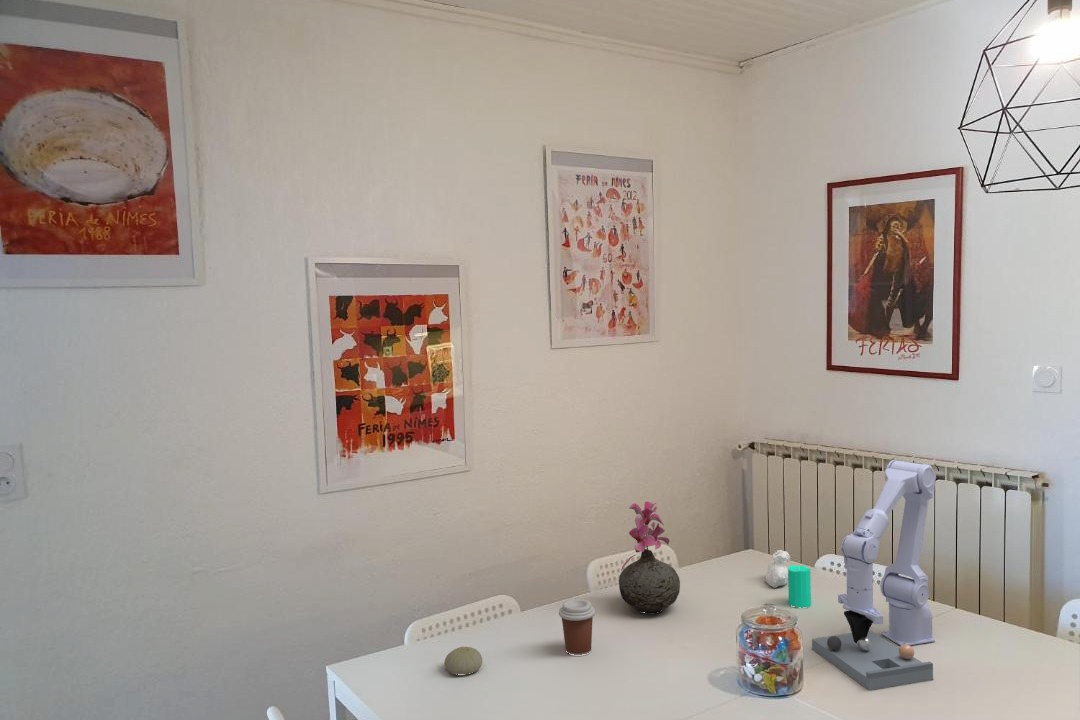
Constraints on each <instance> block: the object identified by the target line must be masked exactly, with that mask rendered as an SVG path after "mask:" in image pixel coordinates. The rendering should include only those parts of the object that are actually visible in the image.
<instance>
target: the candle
mask: <svg viewBox="0 0 1080 720" xmlns="http://www.w3.org/2000/svg"><path fill="white" fill-rule="evenodd" d="M787 568H788V581H787V584H788V589H787V590H788V605H789V604H790V605H792V606H795V607H801V608H803V607H810V606H812V586H811V585H812V581H811V580H812V579H811V568H809V567H807V566H805V565H795V564H794V565H793V564H791V565H790V566H788V567H787ZM790 605H789V606H790ZM810 608H811V607H810Z"/></svg>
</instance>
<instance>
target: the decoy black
mask: <svg viewBox="0 0 1080 720" xmlns="http://www.w3.org/2000/svg"><path fill="white" fill-rule="evenodd" d="M830 636H831V637H829V638H828V640H827V645H828V647H829V648H830V649H831V650H839V649H840V648H841V645H842V644H841V640H840V639H839V638H838V637H836V636H835V635H830Z"/></svg>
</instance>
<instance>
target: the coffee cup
mask: <svg viewBox="0 0 1080 720" xmlns="http://www.w3.org/2000/svg"><path fill="white" fill-rule="evenodd" d="M558 615H559V617H560V618H561V623H562V631H563V640H564V646H565V652H566V651H567V652H568V653H570V654H574V655H582V654H587V653H589V652H590V651H591V652H592V638H593V637H592V636H593V617H594V616H595V615H596V609H595V607H593V606H592V604H591V602H590V601H588V600H586V599H582V598H572V599H569V600H566V601H564V602H563V603H562V606H561V608H559V611H558ZM589 654H590V653H589Z"/></svg>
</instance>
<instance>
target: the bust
mask: <svg viewBox="0 0 1080 720" xmlns="http://www.w3.org/2000/svg"><path fill="white" fill-rule="evenodd" d="M772 558H773V559H772V561H771V562H770V563H769V564H768V567H767V572H766V574H765V578H764V579H765V582H766V583H767V585H768V586H769V585H770V586H769V587H772V588H775V589H777V587H780V586H785V585H787V584H788V567H787V566H786V563H787V562H790V561H791V555H790V554H789V553H788V551H786V550H782V549H778V550H776V551H775V552H774V553H773V554H772Z"/></svg>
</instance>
